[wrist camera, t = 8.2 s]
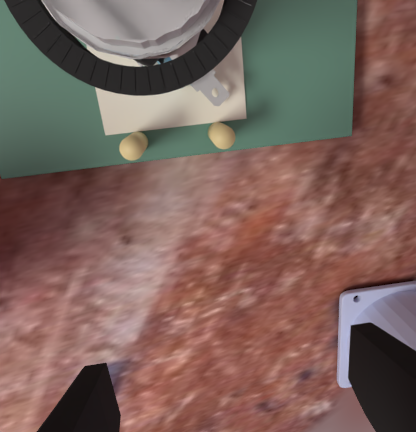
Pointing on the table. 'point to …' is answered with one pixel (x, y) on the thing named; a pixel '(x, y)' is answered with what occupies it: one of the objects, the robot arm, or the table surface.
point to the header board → (183, 96)
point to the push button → (136, 41)
